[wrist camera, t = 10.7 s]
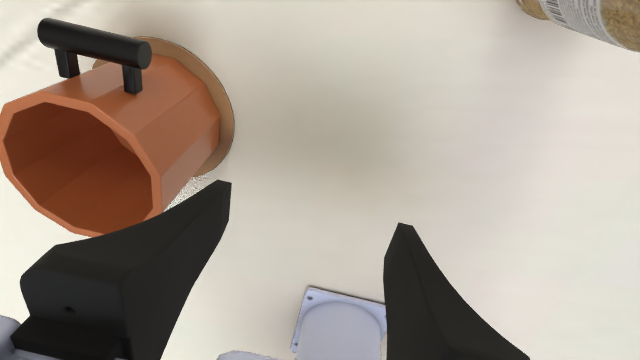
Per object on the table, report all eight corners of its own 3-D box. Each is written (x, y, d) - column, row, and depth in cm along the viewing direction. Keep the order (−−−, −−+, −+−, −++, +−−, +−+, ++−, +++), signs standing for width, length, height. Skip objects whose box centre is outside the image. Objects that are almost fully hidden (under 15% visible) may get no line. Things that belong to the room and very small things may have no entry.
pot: (217, 179, 27) (164, 255, 20) (108, 153, 27) (18, 220, 20) (225, 29, 21) (154, 64, 14) (87, -3, 21) (-49, 15, 14)
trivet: (229, 190, 27) (228, 191, 27) (101, 159, 27) (99, 161, 27) (239, 57, 22) (238, 58, 22) (79, 19, 22) (77, 20, 22)
